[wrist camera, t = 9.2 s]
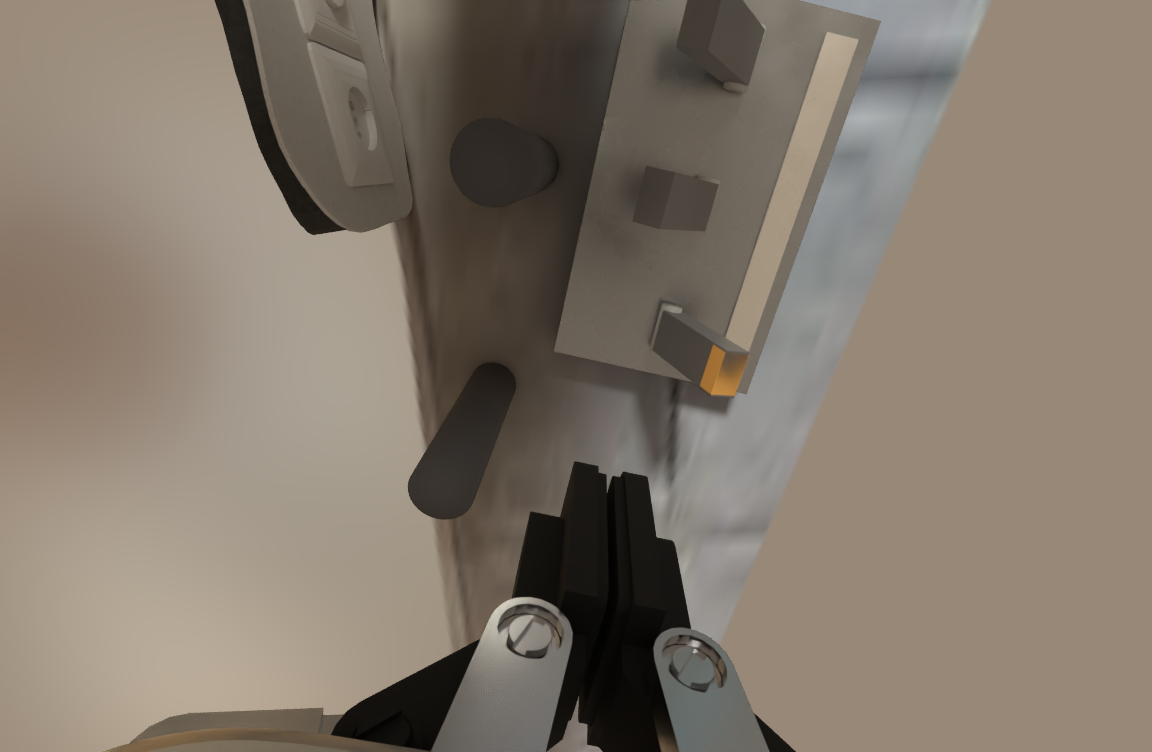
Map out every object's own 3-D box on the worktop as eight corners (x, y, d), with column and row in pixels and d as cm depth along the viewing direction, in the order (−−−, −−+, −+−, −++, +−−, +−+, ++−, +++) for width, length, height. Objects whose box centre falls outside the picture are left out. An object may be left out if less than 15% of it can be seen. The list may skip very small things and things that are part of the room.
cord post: (474, 358, 36) (411, 455, 24) (519, 368, 37) (479, 469, 24) (467, 399, 37) (404, 511, 25) (511, 408, 38) (469, 525, 25)
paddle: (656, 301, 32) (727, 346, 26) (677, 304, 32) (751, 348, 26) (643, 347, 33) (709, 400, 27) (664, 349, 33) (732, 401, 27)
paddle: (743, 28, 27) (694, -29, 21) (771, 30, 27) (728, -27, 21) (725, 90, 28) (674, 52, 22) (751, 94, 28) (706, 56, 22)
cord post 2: (511, 130, 31) (456, 108, 19) (563, 142, 32) (541, 129, 19) (502, 185, 32) (444, 197, 20) (552, 196, 33) (524, 215, 20)
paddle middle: (700, 176, 30) (647, 160, 24) (725, 181, 29) (676, 167, 23) (686, 228, 31) (631, 226, 25) (709, 235, 30) (658, 233, 24)
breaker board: (635, -24, 29) (639, -42, 26) (858, 32, 29) (882, 20, 27) (556, 339, 36) (553, 352, 33) (736, 379, 36) (747, 395, 34)
